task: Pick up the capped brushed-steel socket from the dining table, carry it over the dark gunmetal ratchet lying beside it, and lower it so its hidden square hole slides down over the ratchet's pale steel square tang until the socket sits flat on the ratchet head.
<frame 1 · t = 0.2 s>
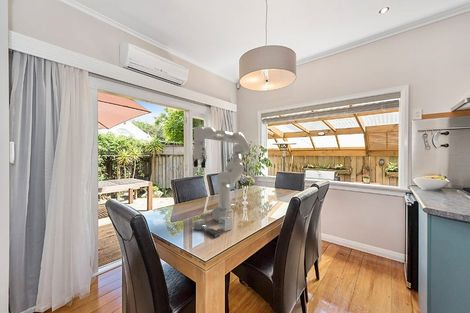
hand: (199, 167, 149), 36 cm above the table, tool pointing down, fingers open, 9 cm apart
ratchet: (200, 228, 128), on the table
teacup: (220, 219, 145), on the table
socket: (225, 229, 127), on the table
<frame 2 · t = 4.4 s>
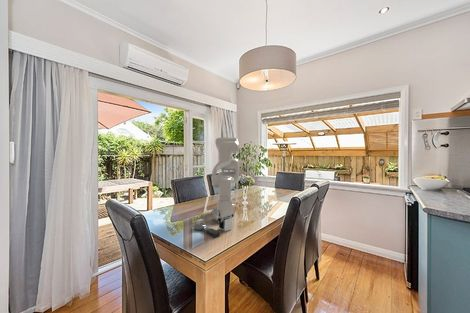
hand: (225, 226, 127), 2 cm above the table, tool pointing down, fingers closed on socket, 6 cm apart
socket: (225, 229, 127), on the table, touching gripper
everything else where it was.
when the fingers open (5 cm above the table, at t = 9.8 s): socket stays where it is, resting on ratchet.
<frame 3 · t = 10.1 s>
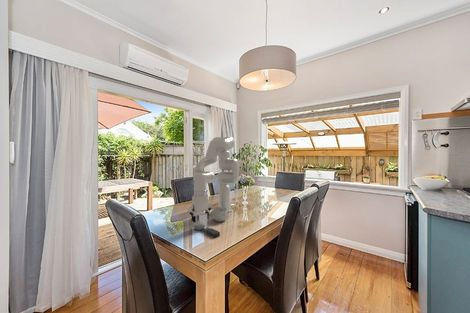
hand: (200, 220, 128), 5 cm above the table, tool pointing down, fingers open, 9 cm apart
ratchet: (200, 228, 128), on the table, touching socket
socket: (200, 224, 128), point 2 cm above the table, touching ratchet
everything else where it was.
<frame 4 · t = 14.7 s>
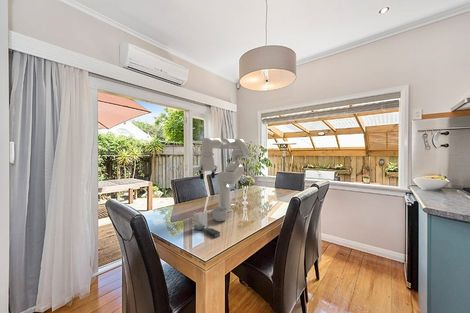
hand: (207, 178, 149), 28 cm above the table, tool pointing down, fingers open, 9 cm apart
nothing on the table moved.
at the end: socket 0.1 cm from the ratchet (horizontally); socket point 2.4 cm above the table; socket tilted 0° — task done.
